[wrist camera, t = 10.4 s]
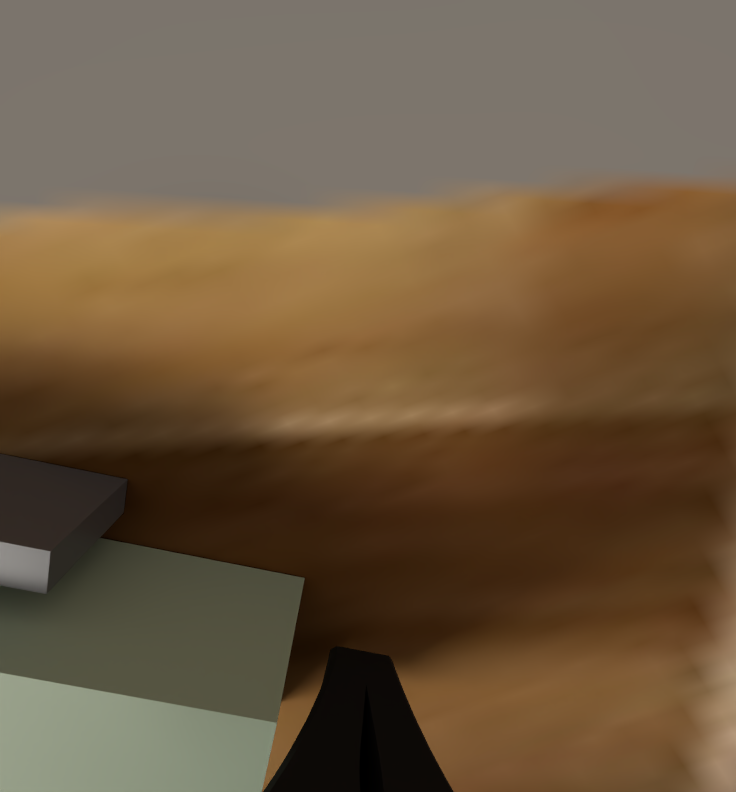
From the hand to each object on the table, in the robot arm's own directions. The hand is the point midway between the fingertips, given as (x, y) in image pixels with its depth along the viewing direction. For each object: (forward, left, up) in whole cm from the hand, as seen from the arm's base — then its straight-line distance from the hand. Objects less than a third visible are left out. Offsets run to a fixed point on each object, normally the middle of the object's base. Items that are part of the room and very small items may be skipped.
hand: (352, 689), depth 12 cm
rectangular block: (0, +5, -1) cm, 6 cm away
